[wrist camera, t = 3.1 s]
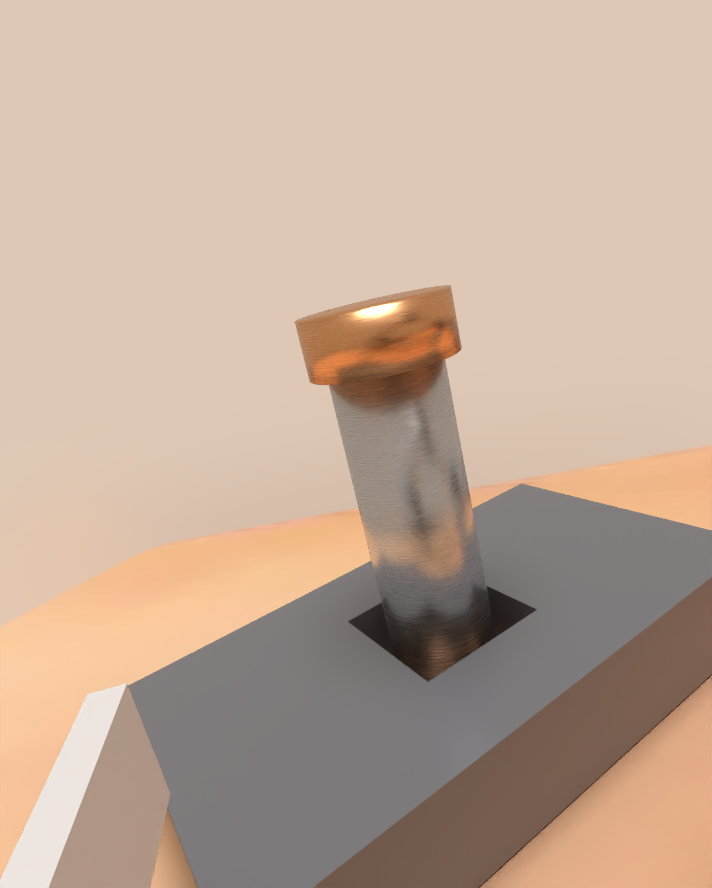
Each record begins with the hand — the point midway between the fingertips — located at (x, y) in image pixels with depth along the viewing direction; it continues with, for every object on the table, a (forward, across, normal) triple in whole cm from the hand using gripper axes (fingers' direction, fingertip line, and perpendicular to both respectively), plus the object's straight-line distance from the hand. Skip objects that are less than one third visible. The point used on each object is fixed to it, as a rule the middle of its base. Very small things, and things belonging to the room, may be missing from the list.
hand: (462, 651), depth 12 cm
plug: (+10, +1, -10) cm, 14 cm away
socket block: (+10, +1, -9) cm, 13 cm away
